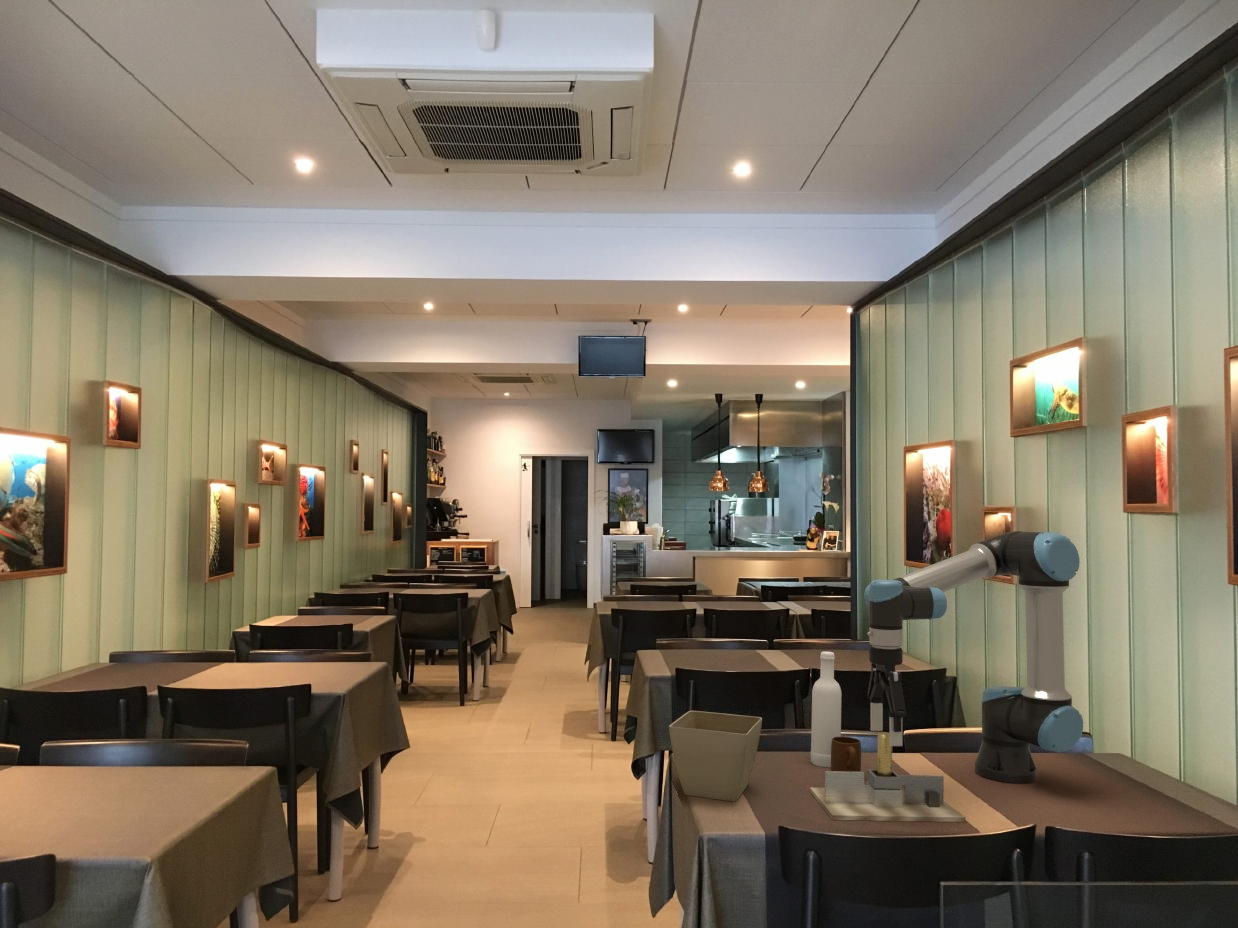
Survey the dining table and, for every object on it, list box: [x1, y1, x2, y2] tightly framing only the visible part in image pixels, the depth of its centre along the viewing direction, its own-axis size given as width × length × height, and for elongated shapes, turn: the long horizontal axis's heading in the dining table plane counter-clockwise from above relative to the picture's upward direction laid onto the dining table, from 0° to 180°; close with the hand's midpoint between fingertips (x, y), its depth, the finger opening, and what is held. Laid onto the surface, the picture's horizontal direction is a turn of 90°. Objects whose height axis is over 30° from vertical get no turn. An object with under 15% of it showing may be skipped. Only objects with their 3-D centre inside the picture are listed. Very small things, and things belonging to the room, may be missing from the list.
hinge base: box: [824, 770, 940, 808], centre depth 211 cm, size 26×6×7 cm, turn 92°
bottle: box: [810, 651, 842, 768], centre depth 247 cm, size 8×8×30 cm
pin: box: [876, 731, 893, 789], centre depth 211 cm, size 3×3×16 cm
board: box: [809, 787, 967, 823], centre depth 212 cm, size 30×20×1 cm, turn 92°
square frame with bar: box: [866, 768, 945, 804], centre depth 211 cm, size 17×6×6 cm, turn 90°
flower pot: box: [668, 710, 763, 802], centre depth 220 cm, size 19×19×17 cm
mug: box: [830, 736, 862, 772], centre depth 233 cm, size 12×8×9 cm, turn 179°
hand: (885, 737), depth 212 cm, fingers open, 13 cm apart
